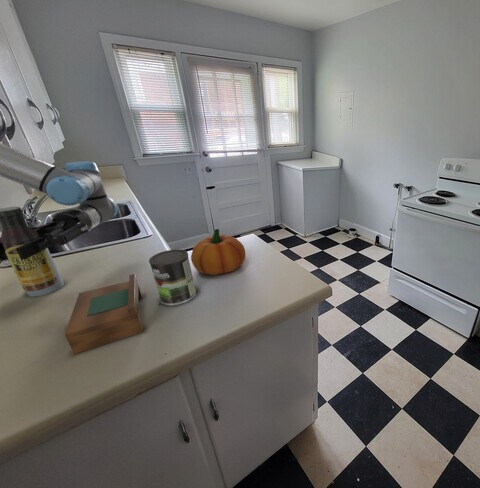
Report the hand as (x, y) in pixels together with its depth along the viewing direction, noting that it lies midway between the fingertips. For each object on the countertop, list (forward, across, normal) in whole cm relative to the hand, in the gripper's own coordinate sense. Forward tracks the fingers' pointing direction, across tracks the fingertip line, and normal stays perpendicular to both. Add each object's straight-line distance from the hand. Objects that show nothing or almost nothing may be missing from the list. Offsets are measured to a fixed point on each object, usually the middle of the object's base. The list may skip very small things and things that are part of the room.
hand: (2, 255), depth 59 cm
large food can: (-16, -26, -24) cm, 39 cm away
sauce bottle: (-5, 0, -11) cm, 12 cm away
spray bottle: (-27, +20, -24) cm, 41 cm away
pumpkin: (-34, -35, -24) cm, 55 cm away
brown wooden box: (-6, -12, -24) cm, 28 cm away
